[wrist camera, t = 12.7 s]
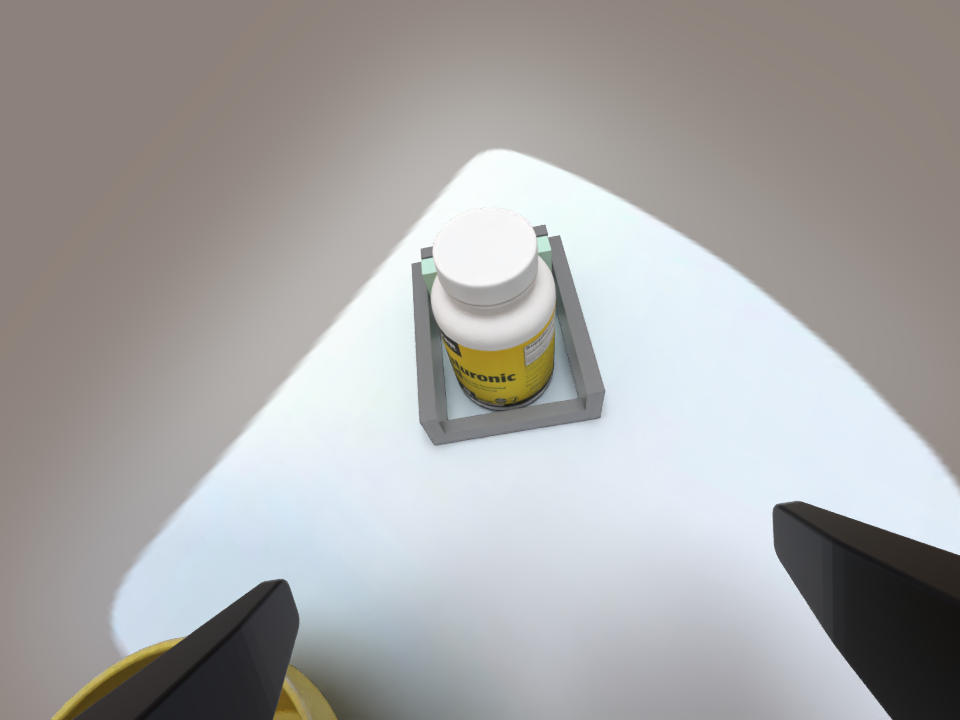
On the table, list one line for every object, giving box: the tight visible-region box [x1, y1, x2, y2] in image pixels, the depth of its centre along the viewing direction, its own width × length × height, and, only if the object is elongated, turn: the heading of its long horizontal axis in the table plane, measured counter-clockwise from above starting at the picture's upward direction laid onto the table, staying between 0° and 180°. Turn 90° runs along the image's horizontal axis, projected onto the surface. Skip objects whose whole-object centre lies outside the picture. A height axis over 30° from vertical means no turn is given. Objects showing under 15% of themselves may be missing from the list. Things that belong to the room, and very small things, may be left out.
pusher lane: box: [412, 225, 605, 445], centre depth 25 cm, size 10×9×4 cm
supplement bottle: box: [431, 208, 556, 410], centre depth 21 cm, size 5×5×10 cm
